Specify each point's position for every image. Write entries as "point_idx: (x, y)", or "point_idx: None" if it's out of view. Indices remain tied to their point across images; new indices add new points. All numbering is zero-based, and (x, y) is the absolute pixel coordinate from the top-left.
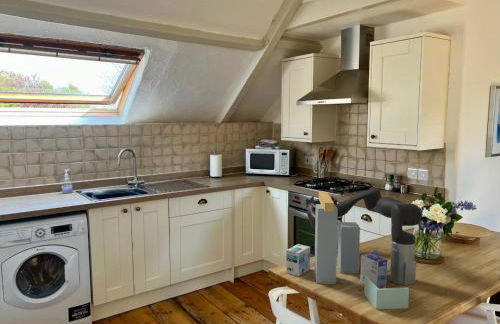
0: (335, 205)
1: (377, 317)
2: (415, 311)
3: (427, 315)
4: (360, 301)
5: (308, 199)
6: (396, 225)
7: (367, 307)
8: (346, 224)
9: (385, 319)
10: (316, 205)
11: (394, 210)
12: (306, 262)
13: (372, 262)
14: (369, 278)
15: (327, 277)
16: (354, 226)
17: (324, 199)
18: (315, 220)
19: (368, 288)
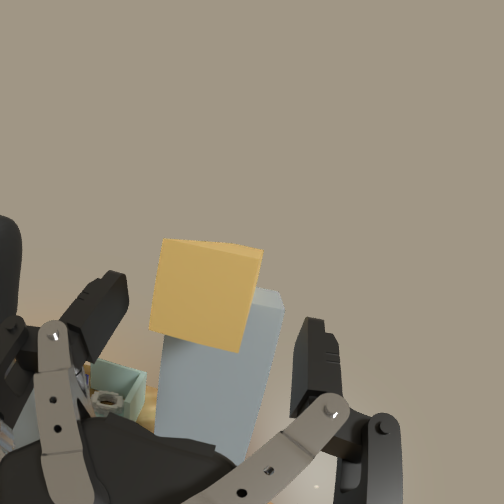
0: (19, 390)
1: (157, 391)
2: (90, 378)
3: (85, 369)
4: (154, 423)
5: (367, 424)
6: (15, 282)
7: (154, 409)
8: (37, 423)
9: (149, 386)
10: (281, 303)
11: (14, 238)
12: None
13: (88, 392)
14: None
15: None
16: (32, 391)
17: (256, 249)
18: (262, 396)
19: (135, 404)
